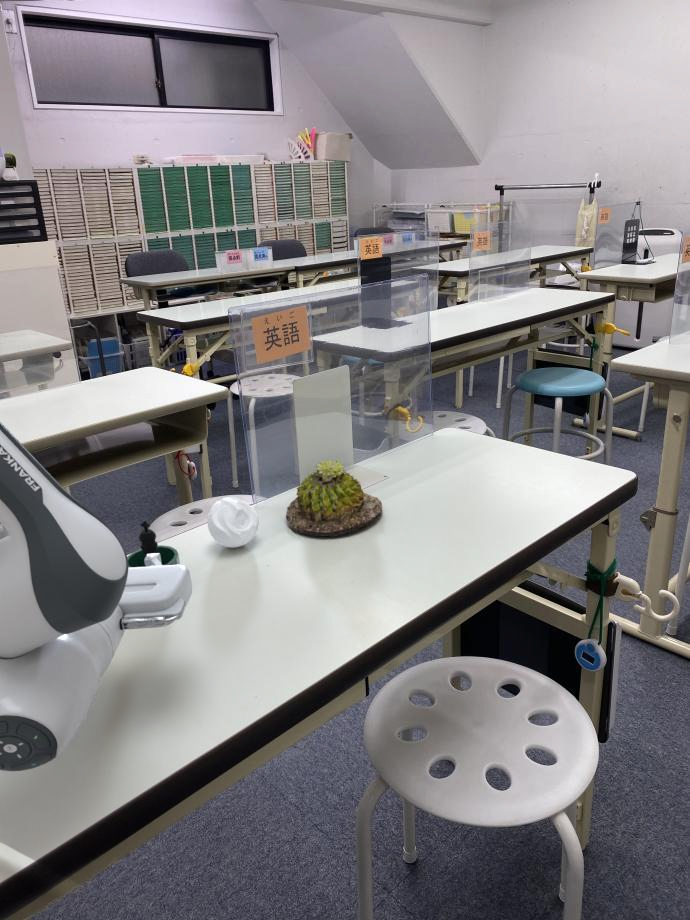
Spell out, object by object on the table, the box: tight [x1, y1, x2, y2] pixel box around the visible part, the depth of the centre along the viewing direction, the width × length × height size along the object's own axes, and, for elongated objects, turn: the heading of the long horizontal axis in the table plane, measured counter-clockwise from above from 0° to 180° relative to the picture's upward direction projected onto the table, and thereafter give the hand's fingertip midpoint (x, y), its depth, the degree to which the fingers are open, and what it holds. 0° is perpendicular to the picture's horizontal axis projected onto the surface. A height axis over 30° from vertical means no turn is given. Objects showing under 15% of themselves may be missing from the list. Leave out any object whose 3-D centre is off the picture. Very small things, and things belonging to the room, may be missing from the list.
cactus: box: [285, 459, 383, 537], centre depth 114 cm, size 17×16×10 cm
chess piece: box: [138, 520, 159, 557], centre depth 96 cm, size 4×4×10 cm
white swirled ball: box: [206, 496, 259, 549], centre depth 107 cm, size 8×8×8 cm
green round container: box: [127, 544, 181, 568], centre depth 98 cm, size 7×7×4 cm
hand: (115, 561), depth 82 cm, fingers open, 8 cm apart
